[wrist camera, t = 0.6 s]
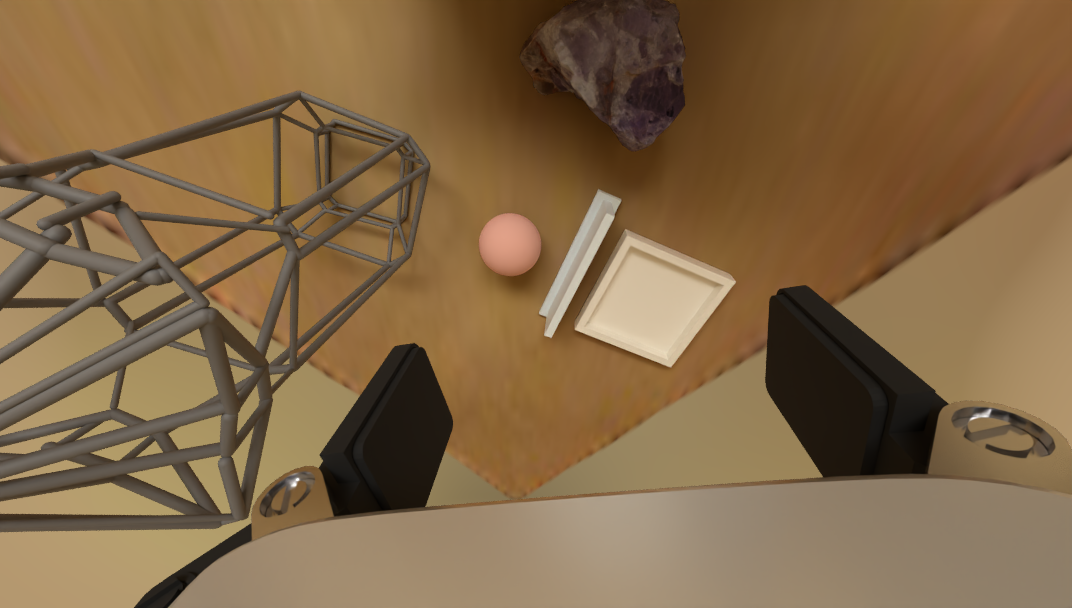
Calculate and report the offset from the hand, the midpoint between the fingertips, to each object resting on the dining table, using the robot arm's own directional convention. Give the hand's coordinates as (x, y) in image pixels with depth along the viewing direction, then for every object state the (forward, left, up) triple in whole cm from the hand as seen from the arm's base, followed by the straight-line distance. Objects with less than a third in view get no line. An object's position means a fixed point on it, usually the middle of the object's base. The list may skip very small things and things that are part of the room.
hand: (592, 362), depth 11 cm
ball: (+10, -3, -30) cm, 32 cm away
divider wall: (+10, +4, -30) cm, 32 cm away
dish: (+11, +13, -30) cm, 34 cm away
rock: (-7, -1, -31) cm, 31 cm away
